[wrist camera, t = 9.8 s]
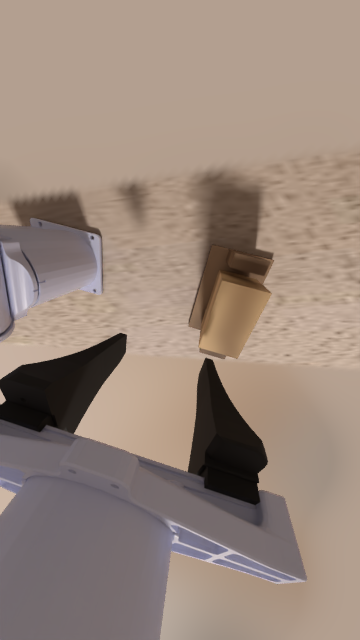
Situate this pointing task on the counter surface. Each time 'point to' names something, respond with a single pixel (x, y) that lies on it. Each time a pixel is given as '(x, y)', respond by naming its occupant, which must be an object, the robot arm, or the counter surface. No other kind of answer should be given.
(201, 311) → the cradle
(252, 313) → the block
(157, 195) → the counter surface
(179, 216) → the counter surface
